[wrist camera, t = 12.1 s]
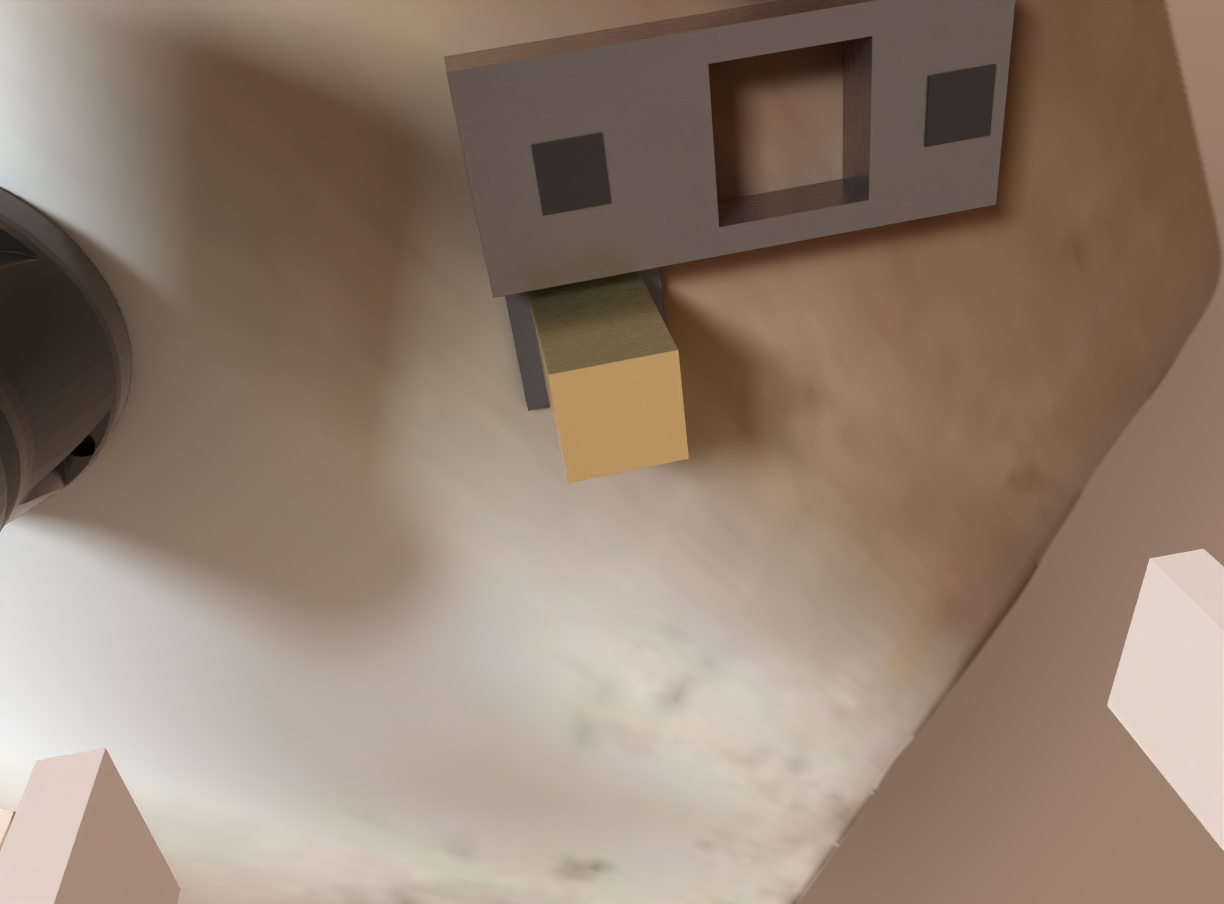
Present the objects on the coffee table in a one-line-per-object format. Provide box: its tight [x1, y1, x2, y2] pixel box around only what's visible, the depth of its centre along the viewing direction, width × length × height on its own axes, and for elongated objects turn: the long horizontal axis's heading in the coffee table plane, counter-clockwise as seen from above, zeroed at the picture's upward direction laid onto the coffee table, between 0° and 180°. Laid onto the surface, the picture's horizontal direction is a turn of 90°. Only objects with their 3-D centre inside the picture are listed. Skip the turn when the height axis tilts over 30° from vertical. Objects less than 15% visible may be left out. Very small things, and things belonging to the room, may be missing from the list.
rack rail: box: [445, 0, 1015, 298], centre depth 40 cm, size 22×9×3 cm, turn 97°
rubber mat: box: [506, 267, 666, 410], centre depth 45 cm, size 7×7×1 cm
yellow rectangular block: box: [528, 271, 689, 483], centre depth 41 cm, size 5×5×8 cm
